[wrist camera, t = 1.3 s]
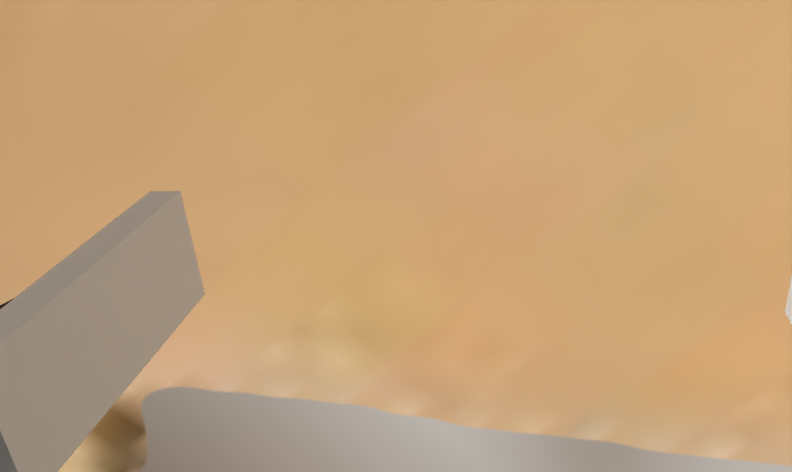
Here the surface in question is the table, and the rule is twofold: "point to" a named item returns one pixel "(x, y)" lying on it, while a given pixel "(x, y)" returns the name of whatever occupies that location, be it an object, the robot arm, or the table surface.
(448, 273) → the table surface
